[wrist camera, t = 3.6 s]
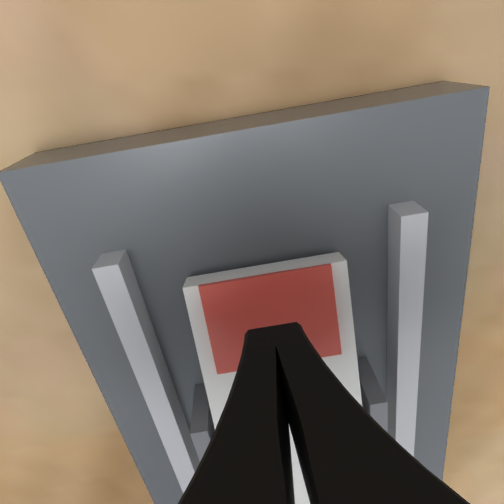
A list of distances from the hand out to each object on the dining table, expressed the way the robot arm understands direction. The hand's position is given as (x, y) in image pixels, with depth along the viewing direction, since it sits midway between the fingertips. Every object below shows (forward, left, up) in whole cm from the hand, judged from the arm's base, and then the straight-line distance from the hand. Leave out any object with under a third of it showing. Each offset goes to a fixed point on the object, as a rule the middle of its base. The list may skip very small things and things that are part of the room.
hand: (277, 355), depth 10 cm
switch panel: (-5, 0, -6) cm, 8 cm away
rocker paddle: (-5, 0, -2) cm, 5 cm away
